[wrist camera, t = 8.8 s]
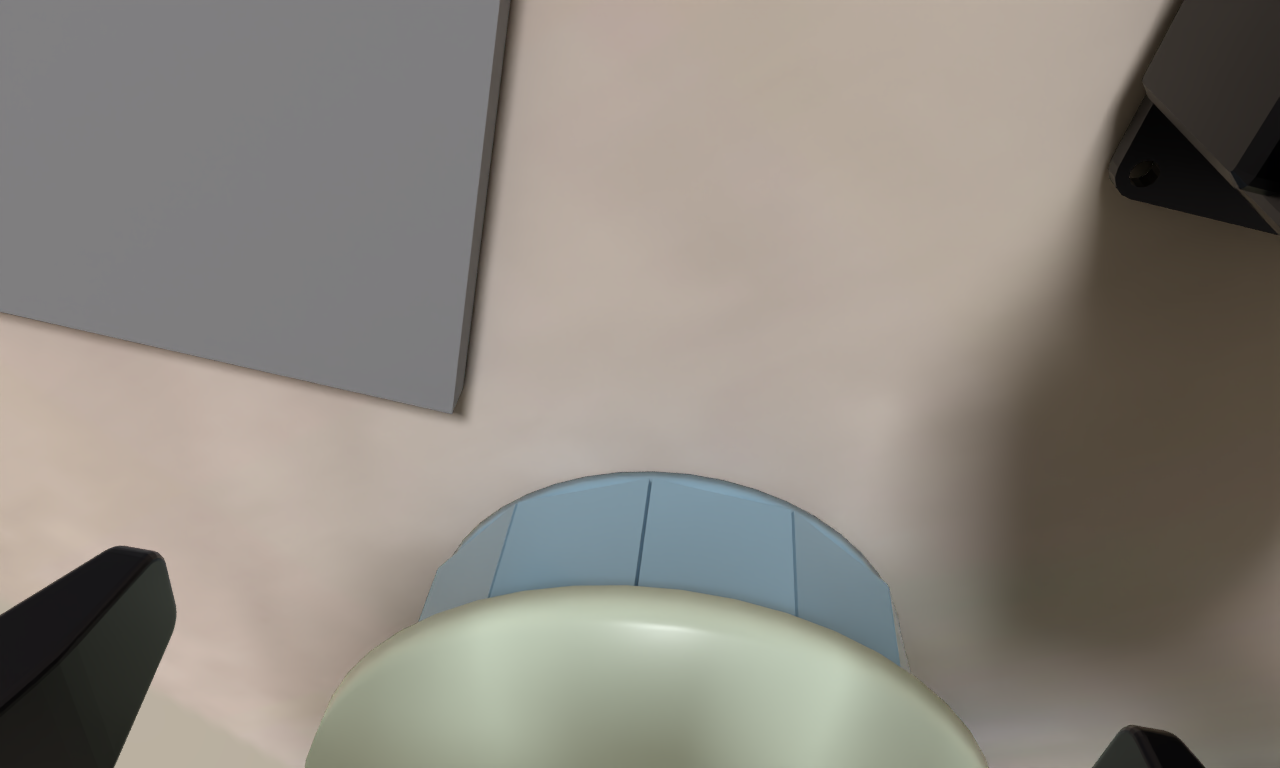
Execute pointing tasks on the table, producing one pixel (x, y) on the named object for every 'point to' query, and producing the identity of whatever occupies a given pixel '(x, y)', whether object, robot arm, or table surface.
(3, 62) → the mat
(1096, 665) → the table surface
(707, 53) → the table surface
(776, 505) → the ring
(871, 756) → the lid
